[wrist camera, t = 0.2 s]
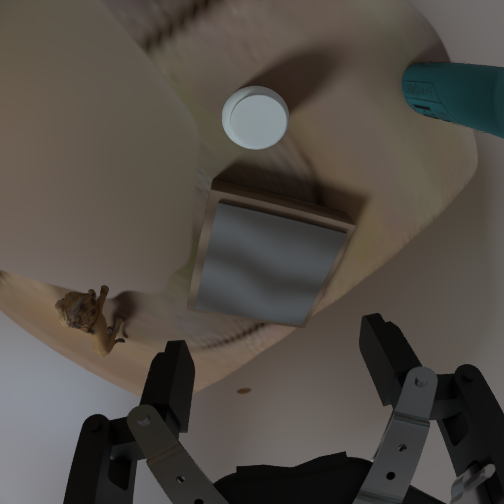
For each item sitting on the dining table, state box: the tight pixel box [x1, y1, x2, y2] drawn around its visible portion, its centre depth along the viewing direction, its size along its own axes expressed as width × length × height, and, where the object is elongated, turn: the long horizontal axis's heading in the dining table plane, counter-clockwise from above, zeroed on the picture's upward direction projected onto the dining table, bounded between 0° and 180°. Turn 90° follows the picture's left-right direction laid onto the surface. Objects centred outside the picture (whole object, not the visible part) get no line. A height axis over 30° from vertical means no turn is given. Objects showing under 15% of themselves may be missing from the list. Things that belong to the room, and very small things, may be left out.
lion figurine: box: [55, 285, 125, 356], centre depth 35 cm, size 15×5×9 cm, turn 11°
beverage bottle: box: [402, 61, 504, 138], centre depth 16 cm, size 6×7×20 cm
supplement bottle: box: [222, 86, 289, 149], centre depth 23 cm, size 5×5×10 cm
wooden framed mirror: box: [186, 179, 356, 328], centre depth 34 cm, size 16×16×4 cm
